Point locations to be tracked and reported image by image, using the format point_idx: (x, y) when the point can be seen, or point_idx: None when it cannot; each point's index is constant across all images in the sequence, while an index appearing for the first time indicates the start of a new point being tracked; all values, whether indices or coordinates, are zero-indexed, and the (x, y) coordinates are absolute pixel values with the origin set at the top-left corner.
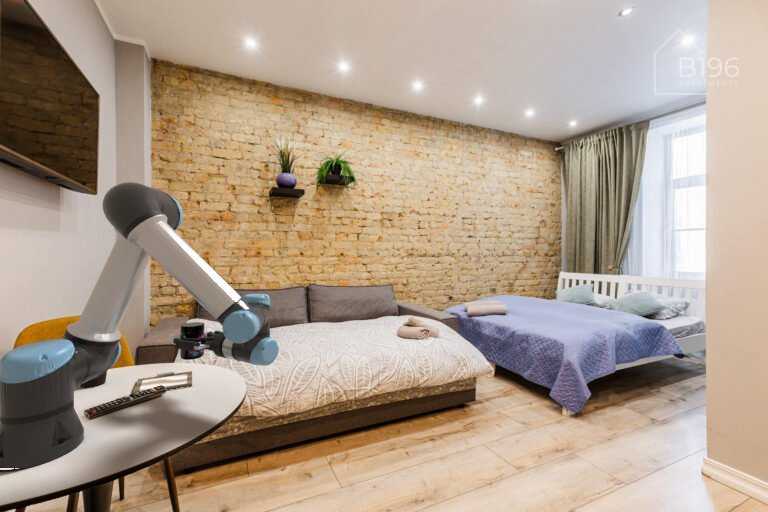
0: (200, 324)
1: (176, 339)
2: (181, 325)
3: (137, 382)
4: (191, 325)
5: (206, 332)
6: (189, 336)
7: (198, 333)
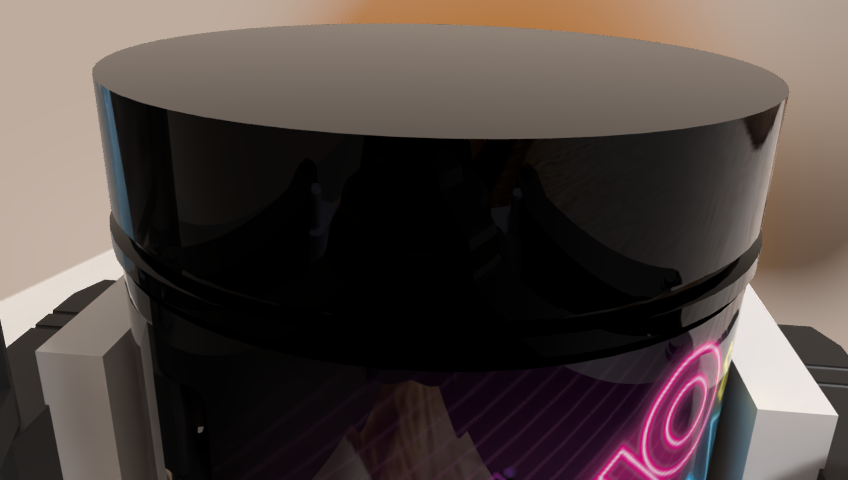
0: (552, 110)
1: (32, 334)
2: (227, 34)
3: None
4: (289, 74)
5: (804, 428)
6: (149, 409)
7: (355, 448)
